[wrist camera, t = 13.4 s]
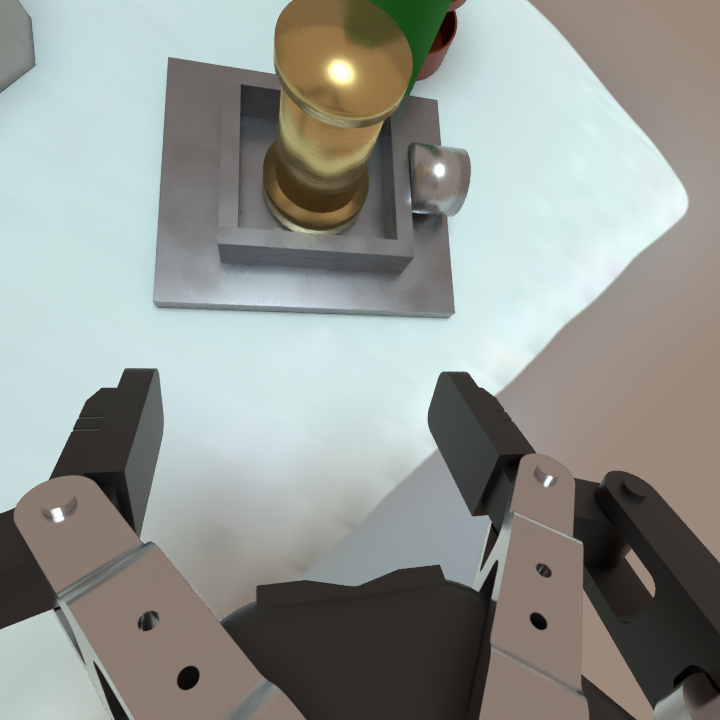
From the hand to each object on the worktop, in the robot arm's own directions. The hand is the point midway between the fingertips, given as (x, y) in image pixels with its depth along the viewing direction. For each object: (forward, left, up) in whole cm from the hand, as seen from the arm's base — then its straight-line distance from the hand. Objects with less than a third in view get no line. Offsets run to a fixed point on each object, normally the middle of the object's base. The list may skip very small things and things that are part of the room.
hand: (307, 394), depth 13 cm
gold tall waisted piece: (+2, +15, -12) cm, 19 cm away
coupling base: (+2, +15, -13) cm, 20 cm away
